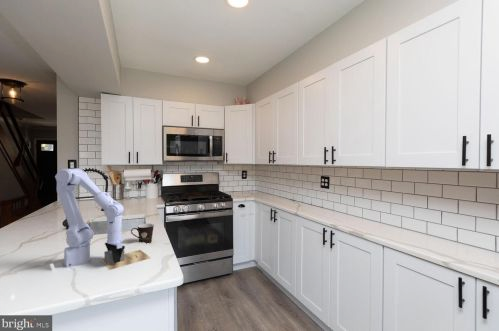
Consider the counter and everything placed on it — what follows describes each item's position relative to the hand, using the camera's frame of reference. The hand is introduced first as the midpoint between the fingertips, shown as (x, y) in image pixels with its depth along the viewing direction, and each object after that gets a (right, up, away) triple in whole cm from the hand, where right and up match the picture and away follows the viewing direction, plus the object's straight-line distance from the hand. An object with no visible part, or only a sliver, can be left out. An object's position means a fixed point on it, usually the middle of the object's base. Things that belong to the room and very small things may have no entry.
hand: (114, 259), depth 108 cm
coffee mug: (0, -2, +30) cm, 30 cm away
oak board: (+4, -2, +4) cm, 5 cm away
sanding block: (0, -1, 0) cm, 1 cm away
